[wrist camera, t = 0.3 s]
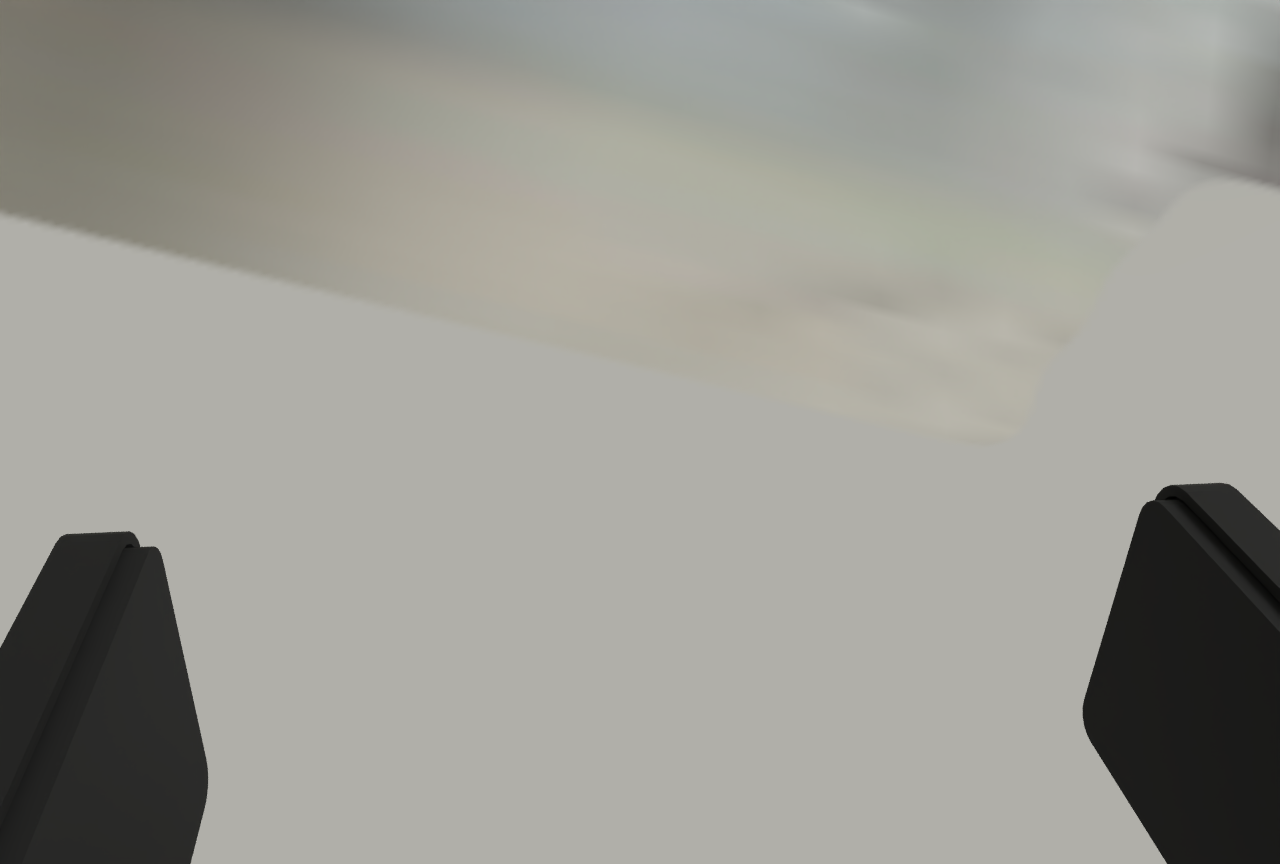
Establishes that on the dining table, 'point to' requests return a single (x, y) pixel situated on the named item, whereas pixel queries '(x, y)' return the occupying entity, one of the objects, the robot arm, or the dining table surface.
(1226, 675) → the robot arm
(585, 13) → the dining table surface
